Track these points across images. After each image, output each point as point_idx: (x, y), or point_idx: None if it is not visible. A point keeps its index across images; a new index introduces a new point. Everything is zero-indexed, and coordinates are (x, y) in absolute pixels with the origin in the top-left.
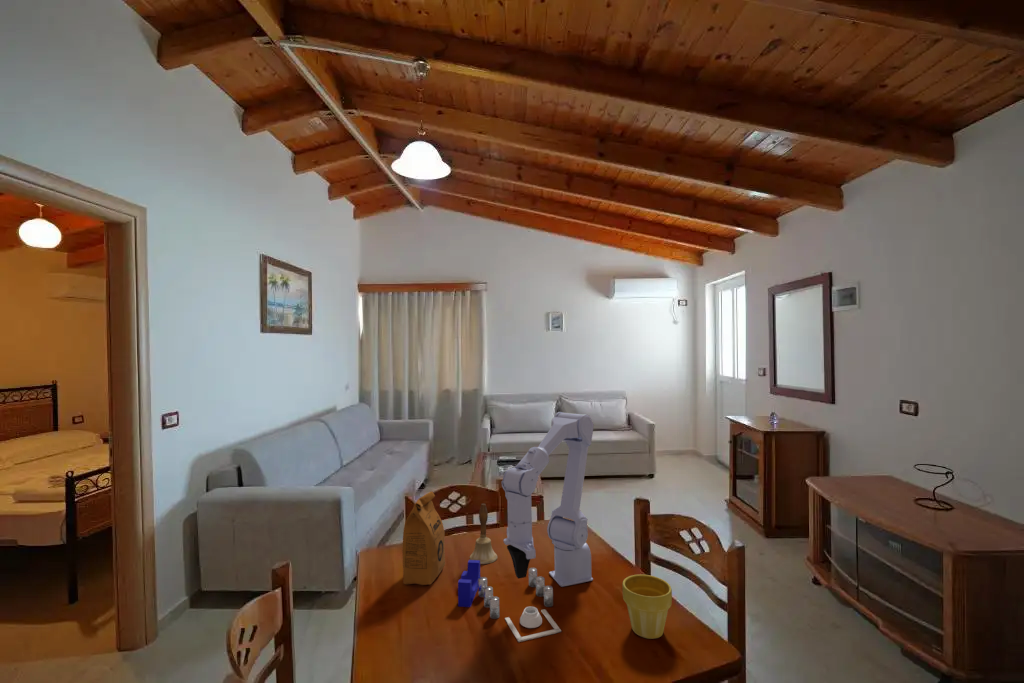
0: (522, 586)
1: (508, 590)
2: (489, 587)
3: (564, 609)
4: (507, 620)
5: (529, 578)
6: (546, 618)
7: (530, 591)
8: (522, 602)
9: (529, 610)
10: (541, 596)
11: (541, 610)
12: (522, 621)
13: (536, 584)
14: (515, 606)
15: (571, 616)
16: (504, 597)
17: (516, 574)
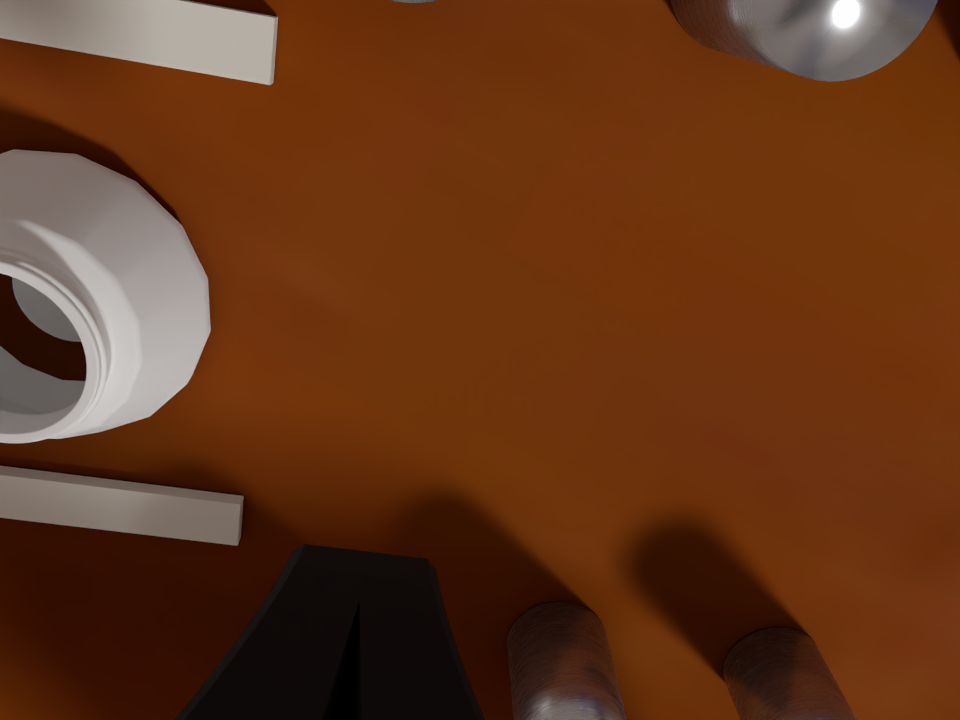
0: (828, 566)
1: (871, 397)
2: (869, 23)
3: (173, 691)
4: (194, 19)
5: (810, 698)
6: (76, 476)
7: (677, 587)
8: (526, 411)
9: (149, 365)
10: (511, 630)
11: (227, 503)
12: (3, 172)
13: (578, 701)
14: (493, 298)
15: (26, 685)
16: (765, 277)
17: (325, 586)
